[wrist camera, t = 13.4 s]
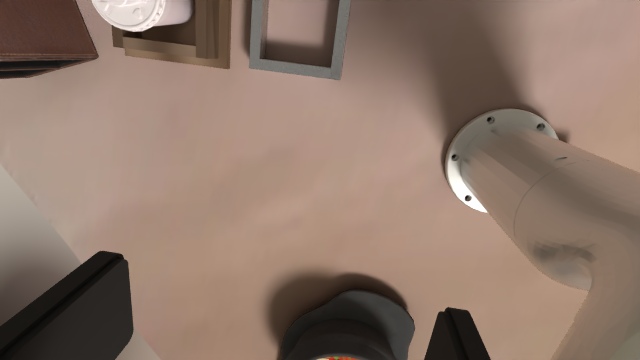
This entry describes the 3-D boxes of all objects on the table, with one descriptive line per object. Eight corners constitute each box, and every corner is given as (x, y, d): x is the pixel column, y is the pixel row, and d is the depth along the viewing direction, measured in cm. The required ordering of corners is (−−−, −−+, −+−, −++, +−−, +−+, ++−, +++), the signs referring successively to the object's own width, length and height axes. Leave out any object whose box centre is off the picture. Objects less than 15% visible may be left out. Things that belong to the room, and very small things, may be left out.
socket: (233, -51, 36) (217, -65, 32) (229, 68, 40) (215, 70, 36) (122, -64, 37) (93, -79, 33) (130, 55, 41) (105, 55, 37)
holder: (353, -20, 36) (353, -25, 34) (340, 78, 40) (339, 80, 37) (260, -31, 37) (253, -37, 34) (255, 67, 40) (249, 68, 38)
